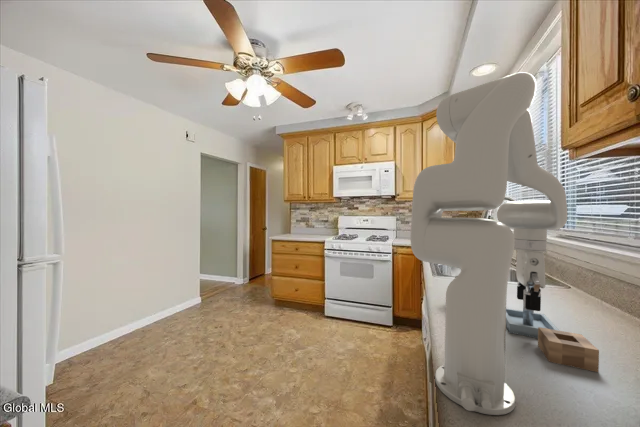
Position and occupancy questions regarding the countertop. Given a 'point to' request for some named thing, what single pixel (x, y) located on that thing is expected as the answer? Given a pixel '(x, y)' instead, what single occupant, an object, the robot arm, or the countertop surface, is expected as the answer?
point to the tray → (517, 327)
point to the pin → (527, 313)
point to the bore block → (568, 349)
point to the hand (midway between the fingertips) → (527, 304)
